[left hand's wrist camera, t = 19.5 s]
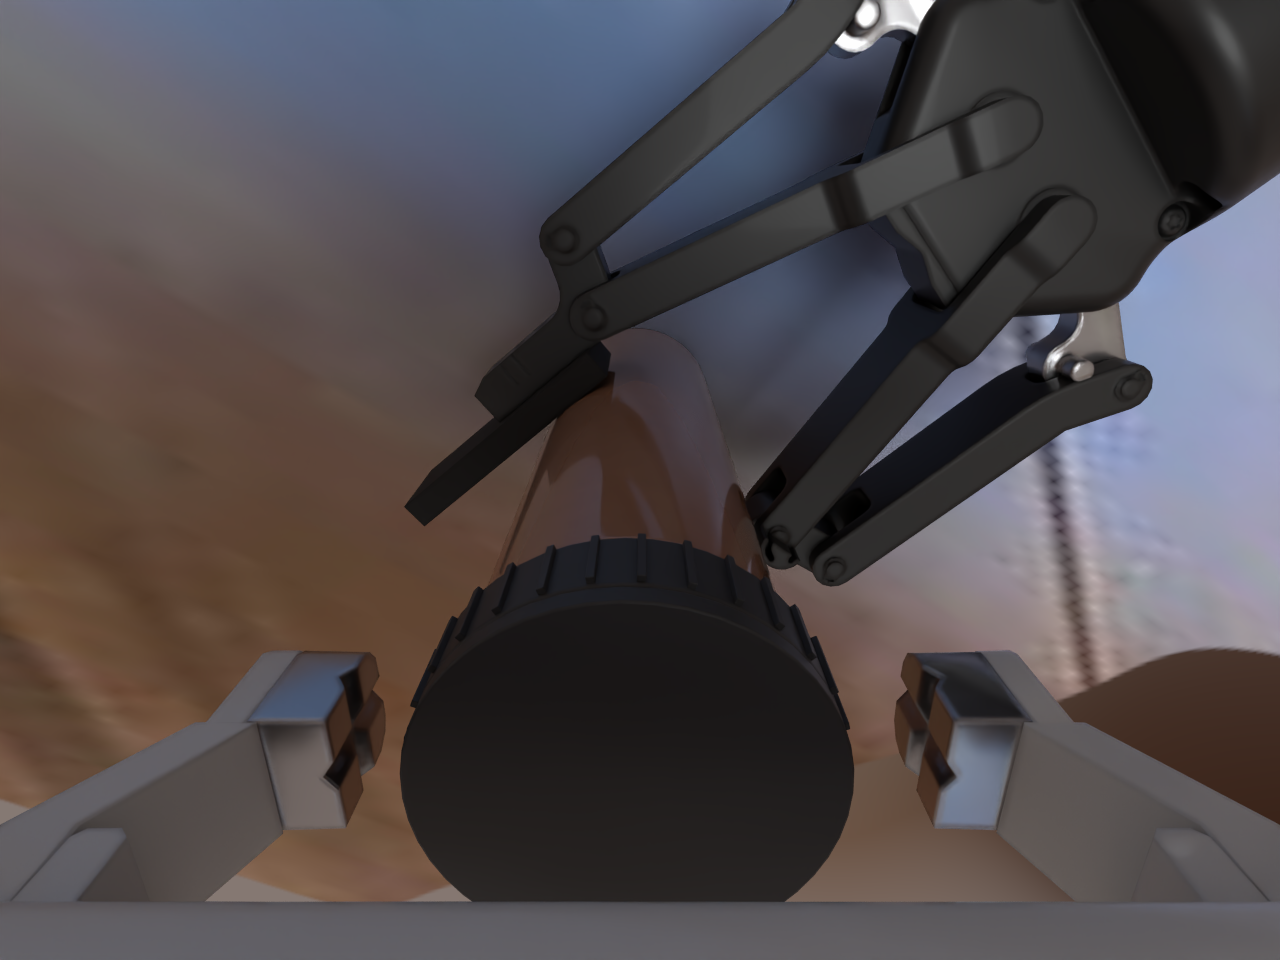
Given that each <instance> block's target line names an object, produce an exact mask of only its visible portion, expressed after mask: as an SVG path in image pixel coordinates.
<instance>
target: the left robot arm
mask: <svg viewBox="0 0 1280 960" xmlns="http://www.w3.org/2000/svg"><path fill="white" fill-rule="evenodd" d="M378 678H379V672H378V667H377V662H376V657H374V656H373V655H372V654H371V653H370V652H337V651H304V652H303V651H270V652H267V653H264V654H262V655H261V657H260V658H259V659H258V660H257V661H256V663H255V664H254V665H253V666H252V667H251V669H250V670H249V671H248V672H247V674H246V675H245V676H244V677H243V678H242V680H241V681H240V682H239V683H238V684H237V686H236V687H235V688H234V689H233V690H232V692H231V693H230V694H229V695H228V697H227V698H226V699H225V700H224V701H223V703H222V704H221V705H220V706H219V707H218V709H217V710H216V711H215V712H214V713H213V715H212V716H211V717H210V718H209V720H208V721H207V722H206V723H193V724H191V725H190V726H188V727H186V728H184V729H182V730H180V731H178V732H176V733H174V734H172V735H171V736H169V737H167V738H165V739H163V740H161V741H159V742H157V743H155V744H153V745H151V746H150V747H148V748H146V749H144V750H142V751H140V752H138V753H136V754H134V755H132V756H130V757H129V758H127V759H125V760H123V761H121V762H119V763H117V764H115V765H113V766H111V767H109V768H108V769H106V770H104V771H102V772H100V773H98V774H96V775H94V776H92V777H90V778H88V779H87V780H85V781H83V782H81V783H79V784H77V785H75V786H73V787H71V788H69V789H68V790H66V791H64V792H62V793H60V794H58V795H56V796H54V797H52V798H50V799H48V800H47V801H45V802H43V803H41V804H39V805H37V806H35V807H33V808H31V809H29V810H27V811H26V812H24V813H22V814H20V815H18V816H16V817H14V818H12V819H10V820H8V821H6V822H5V823H3V824H1V825H0V960H1280V825H1279V824H1277V823H1275V822H1273V821H1271V820H1269V819H1267V818H1265V817H1263V816H1262V815H1260V814H1258V813H1256V812H1254V811H1252V810H1250V809H1248V808H1246V807H1244V806H1243V805H1241V804H1239V803H1237V802H1235V801H1233V800H1231V799H1229V798H1227V797H1225V796H1223V795H1222V794H1220V793H1218V792H1216V791H1214V790H1212V789H1210V788H1208V787H1206V786H1204V785H1203V784H1201V783H1199V782H1197V781H1195V780H1193V779H1191V778H1189V777H1187V776H1185V775H1184V774H1182V773H1180V772H1178V771H1176V770H1174V769H1172V768H1170V767H1168V766H1166V765H1165V764H1163V763H1161V762H1159V761H1157V760H1155V759H1153V758H1151V757H1149V756H1147V755H1146V754H1144V753H1142V752H1140V751H1138V750H1136V749H1134V748H1132V747H1130V746H1128V745H1126V744H1125V743H1123V742H1121V741H1119V740H1117V739H1115V738H1113V737H1111V736H1109V735H1108V734H1106V733H1104V732H1102V731H1100V730H1098V729H1096V728H1094V727H1092V726H1090V725H1088V724H1087V723H1074V722H1073V721H1072V720H1071V718H1070V717H1069V716H1068V715H1067V714H1066V712H1065V711H1064V710H1063V709H1062V708H1061V706H1060V705H1059V704H1058V703H1057V701H1056V700H1055V699H1054V698H1053V697H1052V695H1051V694H1050V693H1049V692H1048V691H1047V689H1046V688H1045V687H1044V686H1043V685H1042V683H1041V682H1040V681H1039V680H1038V679H1037V677H1036V676H1035V675H1034V674H1033V672H1032V671H1031V670H1030V669H1029V668H1028V666H1027V665H1026V664H1025V663H1024V662H1023V660H1022V659H1021V658H1020V657H1019V656H1018V655H1017V654H1016V653H1014V652H1012V651H1010V650H1002V651H976V652H950V653H907V655H906V657H905V659H904V661H903V666H902V671H901V678H902V680H903V682H904V684H905V685H906V687H907V689H908V690H907V691H906V692H905V693H904V694H903V695H902V696H901V697H900V698H899V699H898V700H897V702H896V710H895V718H894V723H895V736H896V742H897V745H898V749H899V753H900V755H901V757H902V760H903V762H904V764H905V766H906V767H907V768H908V769H910V770H911V771H913V772H914V773H915V774H917V775H918V776H919V779H918V785H917V792H918V795H919V797H920V799H921V801H922V803H923V805H924V807H925V809H926V811H927V814H928V816H929V818H930V820H931V822H932V824H933V826H934V828H945V829H981V830H997V834H999V835H1000V836H1001V837H1002V838H1003V839H1004V840H1005V841H1007V842H1008V843H1009V844H1010V845H1011V846H1012V847H1014V848H1015V849H1016V850H1017V851H1018V852H1019V853H1020V854H1022V855H1023V856H1024V857H1025V858H1026V859H1027V860H1029V861H1030V862H1031V863H1032V864H1033V865H1034V866H1036V867H1037V868H1038V869H1039V870H1040V871H1041V872H1042V873H1044V874H1045V875H1046V876H1047V877H1048V878H1049V879H1050V880H1052V881H1053V882H1054V883H1055V884H1056V885H1057V886H1058V887H1060V888H1061V889H1062V890H1063V891H1064V892H1065V893H1067V894H1068V895H1069V896H1070V897H1071V898H1072V899H1073V900H1075V901H1076V902H204V901H206V900H207V899H208V898H209V897H210V896H211V895H212V894H214V893H215V892H216V891H217V890H218V889H219V888H220V887H222V886H223V885H224V884H225V883H226V882H228V881H229V880H230V879H231V878H232V877H233V876H234V875H236V874H237V873H238V872H239V871H240V870H241V869H243V868H244V867H245V866H246V865H247V864H248V863H249V862H251V861H252V860H253V859H254V858H255V857H256V856H258V855H259V854H260V853H261V852H262V851H263V850H265V849H266V848H267V847H268V846H269V845H270V844H271V843H273V842H274V841H275V840H276V839H277V838H278V837H280V836H281V835H282V834H283V830H299V829H333V828H346V826H347V824H348V822H349V820H350V818H351V816H352V814H353V812H354V809H355V807H356V805H357V803H358V801H359V799H360V797H361V795H362V792H363V785H362V779H361V776H362V775H363V774H365V773H366V772H367V771H369V770H370V769H372V768H373V767H374V766H375V764H376V762H377V760H378V757H379V755H380V753H381V750H382V745H383V740H384V735H385V709H384V702H383V700H382V699H381V698H380V697H379V696H378V695H377V694H376V693H375V692H374V691H373V690H372V689H373V687H374V685H375V684H376V682H377V680H378Z"/></svg>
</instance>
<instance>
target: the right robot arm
mask: <svg viewBox="0 0 1280 960" xmlns="http://www.w3.org/2000/svg"><path fill="white" fill-rule="evenodd" d="M882 37H892V38H895V39H897V40H899V41H901V42H902V43H901V46H900V49H899V52H898V55H897V58H896V61H895V64H894V67H893V69H892V72H891V75H890V78H889V81H888V84H887V87H886V90H885V93H884V96H883V99H882V101H881V104H880V107H879V110H878V113H877V116H876V119H875V122H874V125H873V128H872V131H871V133H870V136H869V139H868V142H867V145H866V148H865V151H863V152H860V153H858V154H856V155H854V156H852V157H850V158H848V159H846V160H844V161H841V162H839V163H837V164H835V165H833V166H831V167H829V168H827V169H825V170H823V171H820V172H818V173H816V174H814V175H812V176H811V177H809V178H807V179H806V180H804V181H802V182H801V183H799V184H796V185H794V186H792V187H790V188H788V189H786V190H784V191H782V192H780V193H777V194H775V195H773V196H771V197H769V198H767V199H765V200H763V201H761V202H758V203H756V204H754V205H752V206H750V207H748V208H746V209H744V210H742V211H739V212H737V213H735V214H733V215H731V216H729V217H727V218H725V219H723V220H721V221H718V222H716V223H714V224H712V225H710V226H708V227H706V228H704V229H702V230H699V231H697V232H695V233H693V234H691V235H689V236H687V237H685V238H683V239H680V240H678V241H676V242H674V243H672V244H670V245H668V246H666V247H664V248H661V249H659V250H657V251H655V252H653V253H651V254H649V255H647V256H645V257H642V258H640V259H638V260H636V261H634V262H632V263H630V264H628V265H626V266H623V267H621V268H619V269H617V270H615V271H613V272H611V273H610V272H609V269H608V266H607V263H606V260H605V258H604V255H603V252H602V249H601V246H600V244H602V243H603V242H604V241H605V240H606V239H608V238H609V237H610V236H611V235H612V234H614V233H615V232H616V231H617V230H618V229H619V228H621V227H622V226H623V225H624V224H625V223H627V222H628V221H629V220H630V219H631V218H633V217H634V216H635V215H636V214H637V213H639V212H640V211H641V210H642V209H643V208H645V207H646V206H647V205H648V204H649V203H650V202H652V201H653V200H654V199H655V198H656V197H658V196H659V195H660V194H661V193H662V192H664V191H665V190H666V189H667V188H668V187H670V186H671V185H672V184H673V183H674V182H676V181H677V180H678V179H679V178H680V177H681V176H683V175H684V174H685V173H686V172H687V171H689V170H690V169H691V168H692V167H693V166H695V165H696V164H697V163H698V162H699V161H701V160H702V159H703V158H704V157H705V156H707V155H708V154H709V153H710V152H711V151H712V150H714V149H715V148H716V147H717V146H718V145H720V144H721V143H722V142H723V141H724V140H726V139H727V138H728V137H729V136H730V135H732V134H733V133H734V132H735V131H736V130H738V129H739V128H740V127H741V126H742V125H744V124H745V123H746V122H747V121H748V120H749V119H751V118H752V117H753V116H754V115H755V114H757V113H758V112H759V111H760V110H761V109H763V108H764V107H765V106H766V105H767V104H769V103H770V102H771V101H772V100H773V99H775V98H776V97H777V96H778V95H779V94H780V93H782V92H783V91H784V90H785V89H786V88H788V87H789V86H790V85H791V84H792V83H794V82H795V81H796V80H797V79H798V78H800V77H801V76H802V75H803V74H804V73H806V72H807V71H808V70H809V69H810V68H811V67H812V66H813V65H814V64H815V63H816V62H817V61H818V60H820V59H821V58H822V57H823V56H824V55H825V54H826V52H828V53H829V54H831V55H833V56H835V57H836V58H841V59H847V58H852V57H854V56H856V55H858V54H860V53H861V52H863V51H864V50H866V49H868V48H869V47H871V46H872V45H873V44H874V43H875V42H876V41H877V40H878V39H879V38H882ZM1279 173H1280V0H791V2H790V4H789V5H788V7H787V9H786V10H785V12H784V14H783V15H781V16H780V17H779V18H778V19H777V20H776V21H775V22H773V23H772V24H771V25H770V26H769V27H768V28H766V29H765V30H764V31H763V32H762V33H761V34H760V35H758V36H757V37H756V38H755V39H754V40H753V41H751V42H750V43H749V44H748V45H747V46H746V47H745V48H743V49H742V50H741V51H740V52H739V53H738V54H737V55H735V56H734V57H733V58H732V59H731V60H730V61H728V62H727V63H726V64H725V65H724V66H723V67H722V68H720V69H719V70H718V71H717V72H716V73H715V74H713V75H712V76H711V77H710V78H709V79H708V80H707V81H705V82H704V83H703V84H702V85H701V86H700V87H699V88H697V89H696V90H695V91H694V92H693V93H692V94H690V95H689V96H688V97H687V98H686V99H685V100H684V101H682V102H681V103H680V104H679V105H678V106H677V107H675V108H674V109H673V110H672V111H671V112H670V113H669V114H667V115H666V116H665V117H664V118H663V119H662V120H661V121H659V122H658V123H657V124H656V125H655V126H654V127H652V128H651V129H650V130H649V131H648V132H647V133H646V134H644V135H643V136H642V137H641V138H640V139H639V140H637V141H636V142H635V143H634V144H633V145H632V146H631V147H629V148H628V149H627V150H626V151H625V152H624V153H622V154H621V155H620V156H619V157H618V158H617V159H616V160H614V161H613V162H612V163H611V164H610V165H609V166H608V167H606V168H605V169H604V170H603V171H602V172H601V173H599V174H598V175H597V176H596V177H595V178H594V179H593V180H591V181H590V182H589V183H588V184H587V185H586V186H584V187H583V188H582V189H581V190H580V191H579V192H578V193H576V194H575V195H574V196H573V197H572V198H571V199H570V200H568V201H567V202H566V203H565V204H564V205H563V206H561V207H560V208H559V209H558V210H557V211H556V212H555V213H553V214H552V215H551V216H550V217H549V218H548V219H547V220H546V221H545V223H544V224H543V225H542V227H541V231H540V235H539V239H540V247H541V249H542V251H543V253H544V254H545V256H546V257H547V258H548V260H549V262H550V265H551V267H552V270H553V273H554V275H555V278H556V280H557V283H558V286H559V290H560V303H559V307H558V309H557V311H556V312H555V313H554V314H553V315H551V316H550V317H549V318H548V319H547V320H546V321H544V322H543V323H542V324H541V325H540V326H539V327H538V328H536V329H535V330H534V331H533V332H532V333H531V334H529V335H528V336H527V337H526V338H525V339H524V340H523V341H521V342H520V343H519V344H518V345H517V346H516V347H514V348H513V349H512V350H511V351H510V352H509V353H508V354H506V355H505V356H504V357H503V358H502V359H501V360H499V361H498V362H497V363H496V364H495V365H494V366H493V367H492V368H491V369H490V370H489V372H488V373H487V374H486V375H485V376H484V378H483V379H482V381H481V383H480V386H479V388H478V390H477V392H476V394H475V397H476V398H477V399H478V400H479V401H480V402H481V403H482V404H483V405H484V406H485V408H486V409H487V410H488V411H489V412H490V413H491V414H492V415H493V416H494V418H493V419H492V420H490V421H489V422H488V423H487V424H486V425H485V426H483V427H482V428H481V429H480V430H479V431H477V432H476V433H475V434H474V435H473V436H472V437H470V438H469V439H468V440H467V441H466V442H464V443H463V444H462V445H461V446H460V447H458V448H457V449H456V450H455V451H454V452H453V453H451V454H450V455H449V456H448V457H447V458H445V459H444V460H443V461H442V462H441V463H439V464H438V465H437V466H436V467H435V468H434V469H432V470H431V471H430V473H429V474H428V475H427V477H426V478H425V480H424V481H423V482H422V484H421V485H420V486H419V488H418V489H417V490H416V492H415V493H414V494H413V496H412V497H411V498H410V500H409V501H408V502H407V504H406V505H405V506H404V507H405V508H406V509H407V510H408V511H409V512H410V513H411V514H412V515H413V516H414V517H415V518H416V519H417V520H418V521H419V522H421V523H422V524H423V525H424V526H425V525H427V524H428V523H429V522H430V521H431V520H433V519H434V518H435V517H436V516H438V515H439V514H440V513H441V512H442V511H444V510H445V509H446V508H447V507H449V506H450V505H451V504H452V503H453V502H455V501H456V500H457V499H458V498H460V497H461V496H462V495H463V494H464V493H466V492H467V491H468V490H469V489H471V488H472V487H473V486H474V485H475V484H477V483H478V482H479V481H480V480H482V479H483V478H484V477H485V476H486V475H488V474H489V473H490V472H491V471H492V470H494V469H495V468H496V467H497V466H499V465H500V464H501V463H502V462H503V461H505V460H506V459H507V458H508V457H510V456H511V455H512V454H513V453H514V452H516V451H517V450H518V449H519V448H521V447H522V446H523V445H524V444H525V443H527V442H528V441H529V440H530V439H532V438H533V437H534V436H535V435H536V434H538V433H539V432H540V431H541V430H543V429H544V428H545V427H546V426H547V425H549V424H550V423H551V422H552V421H553V420H555V419H556V418H557V417H558V416H560V415H561V414H562V413H563V412H564V411H566V410H567V409H568V408H569V407H571V406H572V405H573V404H574V403H575V402H577V401H578V400H579V399H580V398H582V397H583V396H584V395H585V394H586V393H588V392H589V391H590V390H591V389H593V388H594V387H595V386H596V385H597V384H599V383H600V382H601V381H602V380H604V379H605V378H606V377H607V375H608V369H609V363H610V358H611V353H610V352H609V351H608V349H607V348H606V347H605V346H604V345H603V343H602V342H601V340H605V339H607V338H609V337H612V336H614V335H616V334H618V333H620V332H622V331H625V330H627V329H629V328H631V327H633V326H636V325H638V324H640V323H642V322H644V321H646V320H649V319H651V318H653V317H655V316H657V315H660V314H662V313H664V312H666V311H668V310H670V309H673V308H675V307H677V306H679V305H681V304H683V303H686V302H688V301H690V300H692V299H694V298H697V297H699V296H701V295H703V294H705V293H707V292H710V291H712V290H714V289H716V288H718V287H721V286H723V285H725V284H727V283H729V282H731V281H734V280H736V279H738V278H740V277H742V276H745V275H747V274H749V273H751V272H753V271H755V270H758V269H760V268H762V267H764V266H766V265H769V264H771V263H773V262H775V261H777V260H779V259H782V258H784V257H786V256H788V255H790V254H792V253H795V252H797V251H799V250H801V249H803V248H806V247H808V246H810V245H812V244H814V243H816V242H819V241H821V240H823V239H825V238H827V237H830V236H832V235H834V234H836V233H839V232H841V231H844V230H847V229H850V228H854V227H857V226H860V225H863V224H866V223H869V225H870V226H871V228H872V229H873V230H875V231H876V232H877V233H878V234H879V235H881V236H882V237H883V238H884V239H885V240H887V241H888V242H889V243H890V244H892V245H893V246H894V248H895V249H896V252H897V256H898V259H899V262H900V265H901V269H902V272H903V275H904V277H905V279H906V280H907V282H908V283H909V285H910V286H911V287H910V289H909V290H908V291H907V292H906V294H905V295H904V296H903V297H902V298H901V300H900V301H899V302H898V303H897V304H896V306H895V307H894V308H893V310H892V311H891V313H890V315H889V318H888V323H887V325H886V327H885V328H884V330H883V331H882V332H881V333H880V335H879V336H878V337H877V338H876V339H875V341H874V342H873V343H872V344H871V345H870V347H869V348H868V349H867V350H866V351H865V353H864V354H863V355H862V356H861V357H860V359H859V360H858V361H857V362H856V363H855V365H854V366H853V367H852V368H851V369H850V371H849V372H848V373H847V374H846V375H845V377H844V378H843V379H842V380H841V381H840V383H839V384H838V385H837V386H836V387H835V389H834V390H833V391H832V392H831V393H830V395H829V396H828V397H827V398H826V399H825V401H824V402H823V403H822V404H821V405H820V407H819V408H818V409H817V410H816V411H815V413H814V414H813V415H812V416H811V417H810V419H809V420H808V421H807V422H806V423H805V425H804V426H803V427H802V428H801V430H800V431H799V432H798V433H797V434H796V436H795V437H794V438H793V439H792V440H791V442H790V443H789V444H788V445H787V446H786V448H785V449H784V450H783V451H782V452H781V454H780V455H779V456H778V457H777V458H776V460H775V461H774V462H773V463H772V464H771V466H770V467H769V468H768V469H767V470H766V472H765V473H764V474H763V475H762V476H761V478H760V479H759V480H758V481H757V482H756V484H755V485H754V486H753V487H752V488H751V490H750V491H749V492H748V494H747V496H746V498H745V501H746V504H747V507H748V510H749V513H750V516H751V519H752V522H753V525H754V528H755V531H756V534H757V537H758V540H759V543H760V546H761V549H762V552H763V555H764V558H765V562H766V564H767V565H768V566H770V567H772V568H775V569H788V568H791V567H794V566H795V565H796V564H798V565H800V566H802V567H803V568H805V569H807V570H809V571H811V572H813V574H814V576H815V578H816V580H817V581H819V582H820V583H821V584H823V585H826V586H830V587H831V586H839V585H841V584H843V583H846V582H847V581H849V580H850V579H852V578H853V577H854V576H856V575H857V574H859V573H860V572H862V571H863V570H865V569H866V568H868V567H869V566H870V565H872V564H873V563H875V562H876V561H878V560H879V559H881V558H882V557H883V556H885V555H886V554H888V553H889V552H891V551H892V550H894V549H895V548H896V547H898V546H899V545H901V544H902V543H904V542H905V541H907V540H908V539H909V538H911V537H912V536H914V535H915V534H917V533H918V532H920V531H921V530H922V529H924V528H925V527H927V526H928V525H930V524H931V523H933V522H934V521H935V520H937V519H938V518H940V517H941V516H943V515H944V514H946V513H947V512H948V511H950V510H951V509H953V508H954V507H956V506H957V505H959V504H960V503H961V502H963V501H964V500H966V499H967V498H969V497H970V496H972V495H973V494H974V493H976V492H977V491H979V490H980V489H982V488H983V487H985V486H986V485H987V484H989V483H990V482H992V481H993V480H995V479H996V478H998V477H999V476H1000V475H1002V474H1003V473H1005V472H1006V471H1008V470H1009V469H1011V468H1012V467H1013V466H1015V465H1016V464H1018V463H1019V462H1021V461H1022V460H1024V459H1025V458H1026V457H1028V456H1029V455H1031V454H1032V453H1034V452H1035V451H1037V450H1038V449H1039V448H1041V447H1042V446H1044V445H1045V444H1047V443H1048V442H1050V441H1051V440H1052V439H1054V438H1055V437H1057V436H1058V435H1060V434H1061V433H1063V432H1064V431H1066V430H1069V429H1072V428H1075V427H1078V426H1081V425H1084V424H1087V423H1090V422H1093V421H1096V420H1099V419H1102V418H1105V417H1108V416H1111V415H1114V414H1117V413H1120V412H1123V411H1126V410H1129V409H1131V408H1133V407H1135V406H1137V405H1139V404H1141V403H1142V402H1143V401H1144V400H1145V399H1146V398H1147V396H1148V394H1149V393H1150V391H1151V389H1152V381H1153V379H1152V376H1151V373H1150V371H1149V370H1148V369H1147V368H1145V367H1144V366H1142V365H1139V364H1136V363H1134V362H1131V361H1128V360H1127V359H1126V356H1125V348H1124V341H1123V333H1122V325H1121V317H1120V310H1119V302H1120V301H1121V300H1123V299H1124V298H1125V297H1126V296H1128V295H1129V294H1130V293H1131V292H1132V291H1133V289H1134V288H1135V287H1136V286H1137V285H1138V283H1139V281H1140V280H1141V278H1142V277H1143V275H1144V273H1145V272H1146V270H1147V269H1148V267H1149V266H1150V264H1151V263H1152V262H1153V260H1154V259H1155V258H1156V257H1157V256H1158V254H1159V253H1160V252H1161V251H1162V250H1163V249H1164V248H1165V247H1166V246H1167V245H1169V244H1170V243H1171V242H1173V241H1174V240H1176V239H1177V238H1179V237H1181V236H1182V235H1184V234H1186V233H1188V232H1189V231H1191V230H1193V229H1195V228H1197V227H1199V226H1200V225H1202V224H1204V223H1206V222H1208V221H1209V220H1211V219H1213V218H1215V217H1216V216H1218V215H1220V214H1221V213H1223V212H1225V211H1226V210H1228V209H1229V208H1231V207H1232V206H1234V205H1235V204H1237V203H1238V202H1239V201H1241V200H1242V199H1244V198H1245V197H1247V196H1248V195H1249V194H1251V193H1252V192H1254V191H1255V190H1256V189H1258V188H1259V187H1261V186H1262V185H1264V184H1265V183H1266V182H1268V181H1269V180H1271V179H1272V178H1274V177H1275V176H1276V175H1278V174H1279ZM1054 314H1060V317H1059V321H1058V323H1057V325H1056V327H1055V329H1054V330H1053V331H1052V332H1051V333H1050V334H1049V335H1047V336H1046V337H1044V338H1043V339H1041V340H1040V341H1038V342H1035V343H1033V344H1031V345H1030V346H1029V347H1028V348H1027V350H1026V352H1025V357H1026V359H1027V362H1026V363H1024V364H1021V365H1019V366H1016V367H1014V368H1012V369H1010V370H1008V371H1006V372H1004V373H1002V374H1001V375H999V376H997V377H996V378H994V379H992V380H991V381H989V382H988V383H986V384H985V385H983V386H982V387H981V388H979V389H978V390H977V391H975V392H974V393H972V394H971V395H970V396H968V397H967V398H966V399H964V400H963V401H962V402H960V403H959V404H957V405H956V406H955V407H953V408H952V409H951V410H949V411H948V412H946V413H945V414H944V415H942V416H941V417H940V418H938V419H937V420H936V421H934V422H933V423H931V424H930V425H929V426H927V427H926V428H925V429H923V430H922V431H920V432H919V433H918V434H916V435H915V436H914V437H912V438H911V439H910V440H908V441H907V442H905V443H904V444H903V445H901V446H900V447H899V448H897V449H896V450H895V451H893V452H892V453H890V454H889V455H888V456H886V457H885V458H884V459H882V460H881V461H879V462H878V463H877V464H875V465H874V466H873V467H871V468H870V469H869V470H867V471H866V472H864V473H863V474H862V475H860V474H861V473H862V472H863V471H864V470H865V469H866V468H867V467H868V465H869V464H870V463H871V462H872V461H873V460H874V459H875V458H876V456H877V455H878V454H879V453H880V452H881V451H882V450H883V449H884V447H885V446H886V445H887V444H888V443H889V442H890V441H891V440H892V438H893V437H894V436H895V435H896V434H897V433H898V432H899V431H900V429H901V428H902V427H903V426H904V425H905V424H906V423H907V421H908V420H909V419H910V418H911V417H912V416H913V415H914V414H915V412H916V411H917V410H918V409H919V408H920V407H921V406H922V405H923V403H924V402H925V401H926V400H927V399H928V398H929V397H930V396H931V394H932V393H933V392H934V391H935V390H936V389H937V388H938V387H939V385H940V384H941V383H942V382H943V381H944V380H945V379H946V378H947V376H948V375H949V374H950V373H951V372H953V371H954V370H956V369H958V368H961V367H964V366H966V365H968V364H969V363H971V362H972V361H973V360H974V359H975V358H977V357H978V356H979V355H980V353H981V352H982V351H983V350H984V349H985V348H986V347H987V346H988V344H989V343H990V342H991V341H992V340H993V339H994V338H995V337H996V336H997V334H998V333H999V332H1000V331H1001V330H1002V329H1003V328H1004V327H1005V325H1006V324H1007V323H1008V322H1009V321H1010V320H1011V319H1012V318H1013V317H1021V316H1037V315H1054Z"/></svg>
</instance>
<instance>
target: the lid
mask: <svg viewBox="0 0 1280 960" xmlns="http://www.w3.org/2000/svg"><path fill="white" fill-rule="evenodd" d="M838 692H839V691H838V689H837V686H836V683H835V681H834V678H833V676H832V673H831V671H830V668H829V666H828V663H827V661H826V658H825V655H824V653H823V650H822V648H821V645H820V643H819V640H818V638H817V636H814V637H812V638H810V636H809V634H808V632H807V629H806V626H805V624H804V621H803V618H802V616H801V613H800V610H799V608H798V607H797V606H796V605H795V604H794V605H792V606H791V607H789V606H788V605H787V603H786V602H785V601H784V600H783V599H782V598H781V597H780V596H779V595H778V594H777V593H776V592H775V591H774V590H773V587H772V584H771V581H770V580H769V579H768V578H767V577H764V578H763V579H762V580H760V579H758V578H757V577H756V576H754V575H753V574H751V573H749V572H748V571H746V570H744V569H743V568H741V567H739V566H737V565H736V563H735V559H734V557H732V556H730V555H728V554H727V556H726V557H725V559H723V558H721V557H719V556H716V555H714V554H712V553H709V552H707V551H704V550H700V549H697V548H693V547H692V542H691V541H688V540H684V542H683V544H679V543H673V542H667V541H661V540H655V539H646V534H643V533H638V538H615V539H601V540H600V536H599V535H593V536H591V541H588V542H583V543H577V544H572V545H568V546H565V547H562V548H559V549H556V548H555V545H554V544H553V545H550V546H547V548H546V552H545V553H543V554H541V555H539V556H537V557H535V558H533V559H530V560H528V561H526V562H524V563H522V564H520V565H518V566H516V565H515V564H514V562H512V563H510V564H509V565H507V567H506V569H505V572H504V575H502V576H500V577H499V578H497V579H496V580H495V581H493V582H492V583H491V584H490V585H489V586H488V587H486V588H485V589H484V590H483V589H482V588H480V587H477V588H476V589H475V590H474V592H473V594H472V597H471V599H470V601H469V604H468V606H467V607H466V608H465V610H464V611H463V612H462V613H461V614H460V616H459V618H458V619H457V618H456V617H454V616H452V617H451V619H450V620H449V622H448V624H447V627H446V629H445V631H444V633H443V635H442V638H441V640H440V642H439V644H438V647H437V649H435V650H434V652H433V655H432V657H431V659H430V661H429V664H428V666H427V668H426V670H425V673H424V675H423V677H422V679H421V681H420V684H419V686H418V688H417V690H416V693H415V695H414V697H413V699H412V702H411V705H410V706H411V707H414V708H416V709H415V711H414V713H413V716H412V718H411V720H410V723H409V725H408V727H407V731H406V734H405V736H404V743H403V747H402V752H401V765H400V780H401V791H402V799H403V803H404V806H405V810H406V814H407V818H408V821H409V823H410V825H411V828H412V830H413V832H414V834H415V837H416V839H417V841H418V843H419V844H420V846H421V847H422V849H423V850H424V852H425V854H426V855H427V857H428V858H429V860H430V861H431V862H432V864H433V865H434V866H435V867H436V868H437V869H438V871H439V872H440V873H441V874H442V875H443V877H444V878H445V879H446V880H447V881H448V882H449V883H451V884H452V885H453V886H454V887H455V888H456V889H457V890H458V891H459V892H460V893H462V894H463V895H464V896H465V897H467V898H468V899H469V900H471V901H472V902H785V901H786V900H787V899H789V898H790V897H791V896H793V895H794V894H795V893H796V892H798V891H799V890H800V889H801V888H802V887H803V886H804V885H805V884H806V883H807V882H808V881H809V880H810V879H811V878H812V877H813V876H814V875H815V874H816V872H817V871H818V870H819V869H820V867H821V866H822V865H823V863H824V862H825V861H826V860H827V858H828V857H829V855H830V854H831V852H832V850H833V848H834V847H835V845H836V843H837V842H838V840H839V838H840V836H841V833H842V831H843V828H844V826H845V823H846V820H847V818H848V815H849V810H850V805H851V801H852V796H853V787H854V764H853V756H852V749H851V744H850V741H849V737H848V734H847V731H846V730H849V729H850V726H849V722H848V719H847V717H846V714H845V712H844V709H843V706H842V704H841V701H840V699H839V696H838V694H837V693H838Z"/></svg>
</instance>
